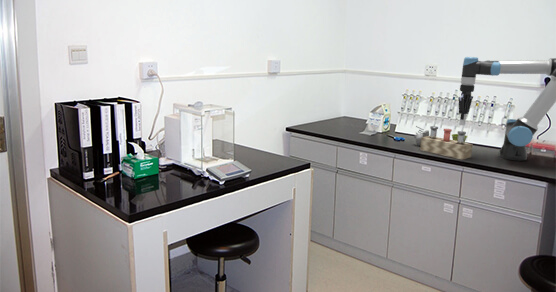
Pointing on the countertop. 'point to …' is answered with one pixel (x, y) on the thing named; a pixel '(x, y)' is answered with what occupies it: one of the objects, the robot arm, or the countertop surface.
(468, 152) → the block
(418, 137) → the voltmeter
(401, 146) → the countertop surface
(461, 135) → the plug near
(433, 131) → the plug far
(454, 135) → the plant pot
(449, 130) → the red plug
